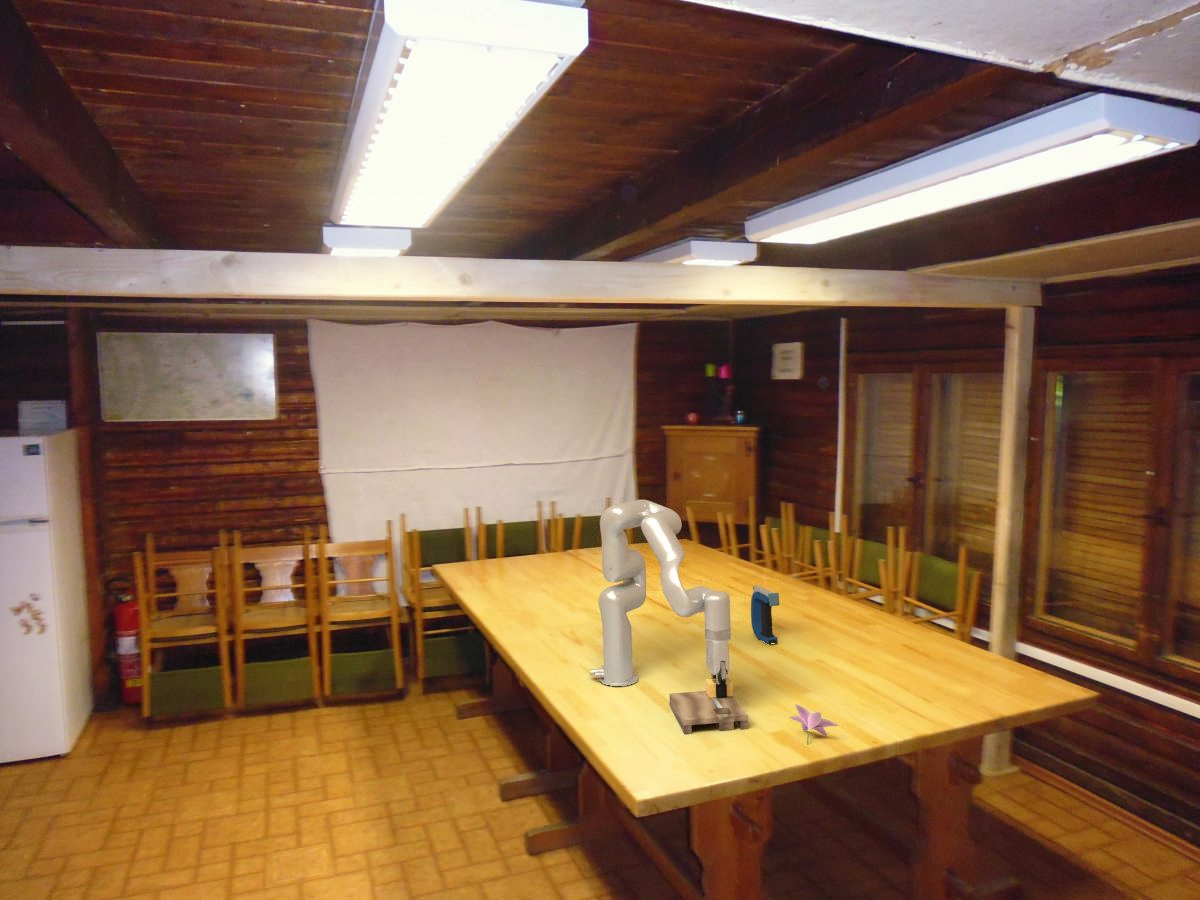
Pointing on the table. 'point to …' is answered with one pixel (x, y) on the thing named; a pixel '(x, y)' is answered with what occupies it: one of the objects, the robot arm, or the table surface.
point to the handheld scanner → (763, 613)
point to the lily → (812, 721)
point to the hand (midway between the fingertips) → (719, 692)
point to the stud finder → (712, 687)
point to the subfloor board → (707, 711)
